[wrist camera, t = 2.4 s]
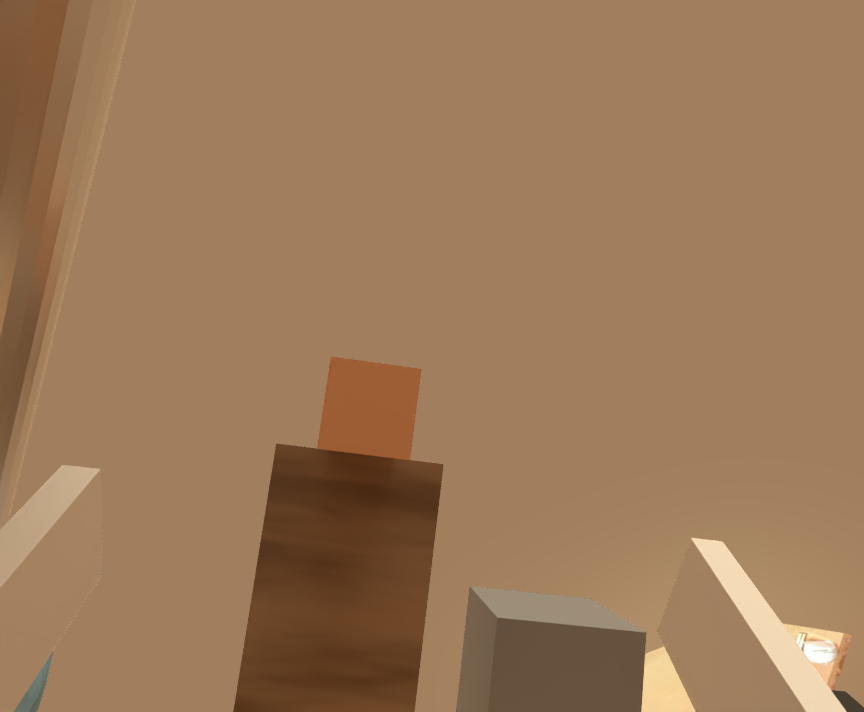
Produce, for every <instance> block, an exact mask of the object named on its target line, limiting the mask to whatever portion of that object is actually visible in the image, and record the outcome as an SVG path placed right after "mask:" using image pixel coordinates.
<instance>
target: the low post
mask: <svg viewBox="0 0 864 712" xmlns="http://www.w3.org/2000/svg"><path fill="white" fill-rule="evenodd" d="M645 643H646V632H645V631H643V630H641V629H639V628H638V627H636V626H635V625H633V624H631V623H629V622H628V621H626V620H625V619H623V618H622V617H620V616H618V615H617V614H615V613H613V612H612V611H610V610H609V609H607V608H605V607H604V606H602V605H600V604H599V603H597V602H595V601H594V600H592V599H587V598H578V597H568V596H559V595H549V594H540V593H531V592H520V591H512V590H502V589H493V588H483V587H474V586H470V588H469V597H468V607H467V616H466V625H465V634H464V644H463V653H462V662H461V672H460V681H459V690H458V700H457V709H456V712H641V706H642V691H643V675H644V659H645Z"/></svg>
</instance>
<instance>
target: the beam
mask: <svg viewBox="0 0 864 712" xmlns="http://www.w3.org/2000/svg"><path fill="white" fill-rule="evenodd" d="M420 375H421V369H417V368H410V367H402V366H395V365H388V364H380V363H373V362H366V361H358V360H352V359H344V358H337V357H331V359H330V366H329V372H328V379H327V386H326V392H325V399H324V405H323V412H322V419H321V426H320V432H319V439H318V446H317V449H324V450H331V451H339V452H347V453H355V454H363V455H371V456H380V457H388V458H396V459H405V460H410V455H411V447H412V439H413V431H414V423H415V415H416V407H417V399H418V391H419V384H420Z"/></svg>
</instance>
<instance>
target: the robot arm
mask: <svg viewBox="0 0 864 712" xmlns="http://www.w3.org/2000/svg"><path fill="white" fill-rule="evenodd" d="M135 4H136V0H0V712H36V711H37V710H38V708H39V705H40V702H41V700H42V697H43V693H44V690H45V686H46V682H47V678H48V674H49V669H50V665H51V660H52V655H53V650H54V649H55V647H56V646H57V644H58V643H59V641H60V639H61V638H62V636H63V635H64V633H65V632H66V630H67V629H68V627H69V626H70V624H71V622H72V621H73V619H74V618H75V616H76V615H77V613H78V612H79V610H80V609H81V607H82V606H83V604H84V602H85V601H86V599H87V597H88V596H89V595H90V593H91V592H92V590H93V588H94V587H95V586H96V584H97V582H98V581H99V579H100V578H101V576H102V575H103V570H102V569H103V568H102V523H101V522H102V521H101V520H102V519H101V473H100V469H94V468H86V467H77V466H69V465H62V466H61V467H60V468H59V469H58V470H57V471H56V472H55V473H54V474H53V475H52V477H51V478H50V479H49V480H48V481H47V482H46V483H45V484H44V485H43V486H42V487H41V488H40V489H39V490H38V491H37V492H36V493H35V494H34V495H33V496H32V497H31V498H30V499H29V501H28V502H27V503H26V504H25V505H24V506H23V507H22V508H21V509H20V510H19V511H18V512H17V513H16V514H15V515H14V516H13V517H12V518H11V519H10V520H9V518H10V514H11V510H12V506H13V502H14V498H15V494H16V490H17V485H18V481H19V477H20V473H21V469H22V465H23V461H24V456H25V453H26V449H27V444H28V440H29V436H30V432H31V428H32V424H33V420H34V416H35V412H36V408H37V404H38V400H39V396H40V392H41V387H42V383H43V379H44V375H45V371H46V367H47V363H48V359H49V355H50V351H51V346H52V343H53V338H54V334H55V330H56V326H57V322H58V318H59V314H60V310H61V306H62V301H63V298H64V293H65V289H66V285H67V281H68V277H69V273H70V269H71V265H72V260H73V256H74V252H75V249H76V244H77V240H78V236H79V232H80V228H81V224H82V220H83V216H84V211H85V208H86V203H87V199H88V195H89V191H90V187H91V183H92V179H93V175H94V171H95V167H96V163H97V159H98V154H99V151H100V146H101V142H102V138H103V134H104V130H105V126H106V122H107V118H108V114H109V110H110V106H111V102H112V97H113V93H114V89H115V85H116V81H117V77H118V72H119V69H120V65H121V61H122V57H123V52H124V48H125V44H126V40H127V36H128V32H129V28H130V24H131V20H132V16H133V12H134V7H135ZM657 632H658V634H659V636H660V638H661V640H662V642H663V644H664V646H665V648H666V651H667V653H668V655H669V657H670V659H671V661H672V663H673V665H674V667H675V669H676V671H677V673H678V676H679V678H680V680H681V682H682V684H683V686H684V688H685V690H686V692H687V694H688V696H689V698H690V700H691V703H692V705H693V707H694V709H695V711H696V712H864V708H863V707H862V706H861V705H860V704H859V703H858V702H857V701H856V700H855V699H853V698H852V697H851V696H850V695H849V694H848V693H846V692H843V691H833V690H830V688H829V687H828V686H827V684H826V683H825V681H824V680H823V679H822V677H821V676H820V675H819V673H818V672H817V670H816V669H815V668H814V666H813V665H812V664H811V662H810V661H809V660H808V658H807V657H806V655H805V654H804V653H803V651H802V650H801V649H800V647H799V646H798V644H797V643H796V642H795V640H794V639H793V638H792V636H791V635H790V634H789V632H788V631H787V629H786V628H785V627H784V625H783V624H782V623H781V621H780V620H779V619H778V617H777V616H776V614H775V613H774V612H773V610H772V609H771V607H770V606H769V605H768V603H767V602H766V601H765V599H764V598H763V597H762V595H761V594H760V593H759V591H758V590H757V589H756V587H755V586H754V584H753V583H752V581H751V580H750V579H749V577H748V576H747V575H746V573H745V572H744V571H743V569H742V568H741V566H740V565H739V564H738V562H737V561H736V560H735V559H734V557H733V556H732V554H731V553H730V551H729V550H728V549H727V547H726V546H725V545H724V543H723V542H722V541H713V540H705V539H696V538H691V539H690V541H689V544H688V547H687V550H686V552H685V555H684V558H683V561H682V564H681V566H680V569H679V572H678V574H677V577H676V580H675V583H674V585H673V588H672V591H671V594H670V596H669V599H668V602H667V605H666V607H665V610H664V613H663V616H662V619H661V621H660V624H659V627H658V629H657Z"/></svg>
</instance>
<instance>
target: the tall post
mask: <svg viewBox="0 0 864 712" xmlns="http://www.w3.org/2000/svg"><path fill="white" fill-rule="evenodd" d="M442 471H443V464H436V463H428V462H420V461H412V460H404V459H396V458H388V457H380V456H371V455H363V454H355V453H347V452H339V451H331V450H323V449H315V448H306V447H298V446H291V445H283V444H276V449H275V455H274V462H273V468H272V475H271V480H270V487H269V493H268V499H267V506H266V512H265V518H264V524H263V530H262V537H261V543H260V549H259V555H258V562H257V568H256V574H255V581H254V586H253V593H252V599H251V605H250V611H249V618H248V624H247V630H246V637H245V643H244V649H243V655H242V661H241V668H240V674H239V680H238V686H237V693H236V699H235V705H234V711H233V712H414V710H415V702H416V694H417V685H418V676H419V668H420V660H421V651H422V643H423V633H424V626H425V625H424V624H425V617H426V609H427V600H428V592H429V583H430V575H431V566H432V557H433V549H434V540H435V532H436V522H437V515H438V506H439V498H440V489H441V481H442Z"/></svg>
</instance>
